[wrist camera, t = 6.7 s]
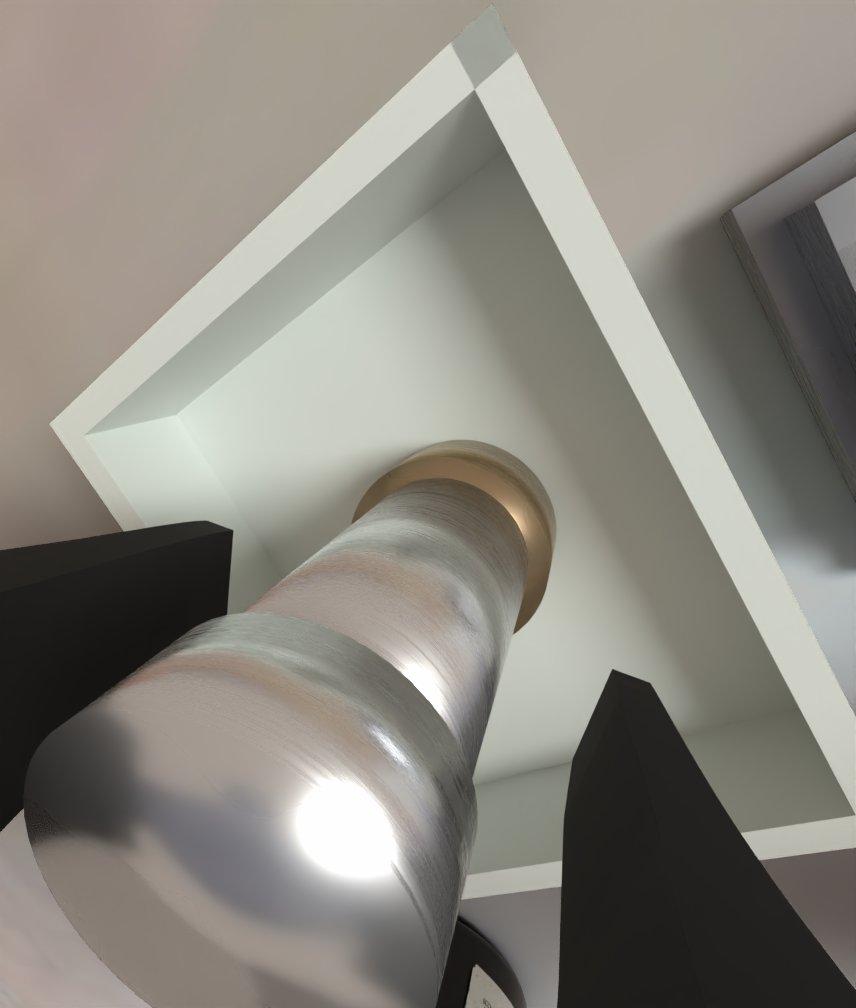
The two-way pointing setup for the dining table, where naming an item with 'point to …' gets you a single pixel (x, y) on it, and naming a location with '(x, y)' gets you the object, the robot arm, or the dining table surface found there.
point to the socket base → (810, 283)
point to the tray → (494, 420)
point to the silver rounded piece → (304, 759)
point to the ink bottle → (477, 975)
